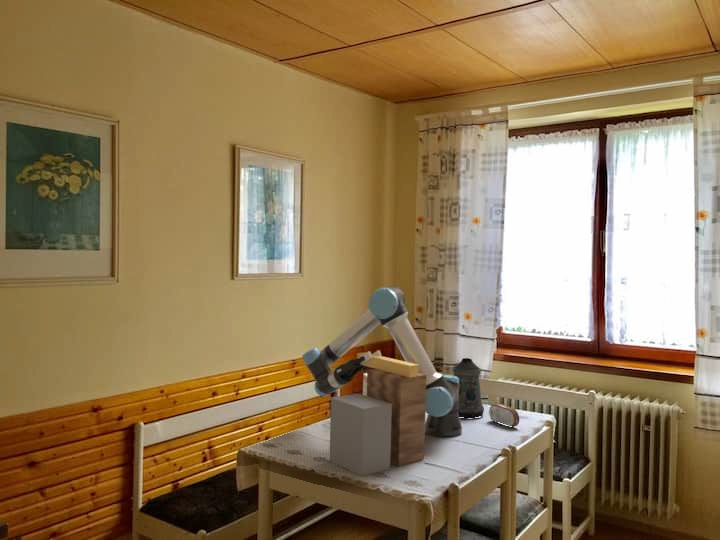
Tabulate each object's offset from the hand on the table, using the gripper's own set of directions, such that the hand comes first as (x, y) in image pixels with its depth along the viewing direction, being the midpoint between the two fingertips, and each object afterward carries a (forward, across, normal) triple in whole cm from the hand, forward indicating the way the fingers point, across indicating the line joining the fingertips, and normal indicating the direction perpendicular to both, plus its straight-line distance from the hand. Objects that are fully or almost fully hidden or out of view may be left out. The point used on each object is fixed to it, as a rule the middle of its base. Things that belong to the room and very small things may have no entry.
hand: (375, 354), depth 229 cm
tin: (-10, -66, -35) cm, 75 cm away
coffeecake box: (-40, -22, -17) cm, 49 cm away
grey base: (-7, +16, -36) cm, 40 cm away
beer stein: (-29, -65, -24) cm, 75 cm away
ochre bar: (+3, 0, -7) cm, 8 cm away
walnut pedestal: (-7, 0, -36) cm, 37 cm away
